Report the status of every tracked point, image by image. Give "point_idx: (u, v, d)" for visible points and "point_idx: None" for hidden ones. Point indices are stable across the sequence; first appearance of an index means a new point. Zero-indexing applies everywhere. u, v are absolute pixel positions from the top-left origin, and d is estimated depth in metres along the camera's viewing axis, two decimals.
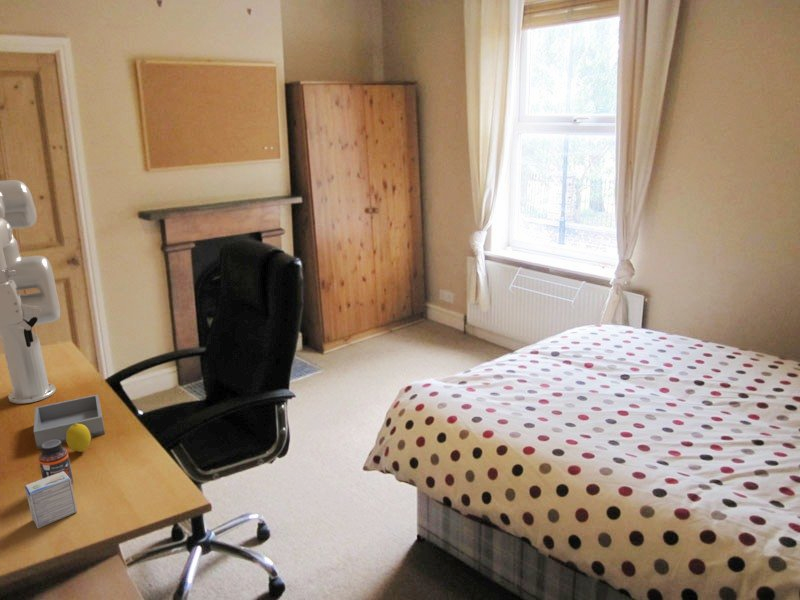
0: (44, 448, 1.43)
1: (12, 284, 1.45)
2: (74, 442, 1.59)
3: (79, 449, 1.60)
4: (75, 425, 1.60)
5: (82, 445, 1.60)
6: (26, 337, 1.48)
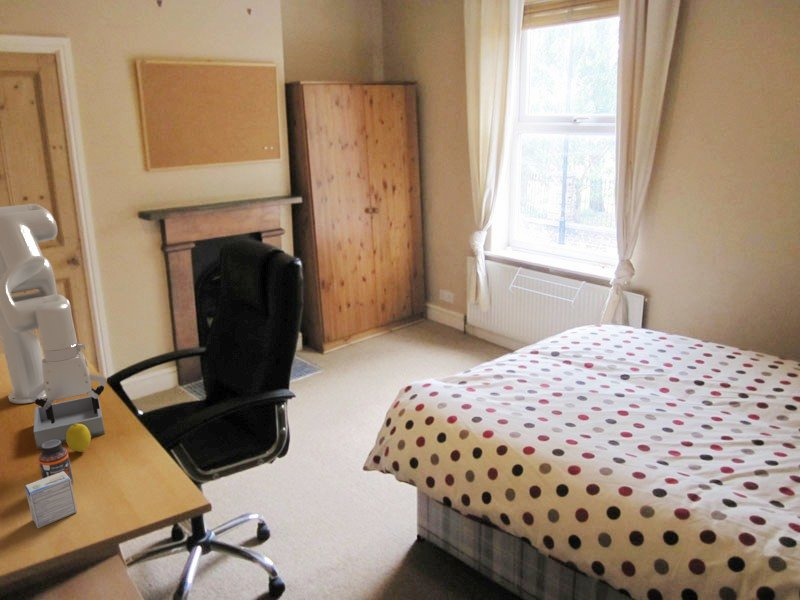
0: (44, 448, 1.43)
1: (82, 357, 1.56)
2: (74, 442, 1.59)
3: (79, 449, 1.60)
4: (75, 425, 1.60)
5: (82, 445, 1.60)
6: (94, 405, 1.59)
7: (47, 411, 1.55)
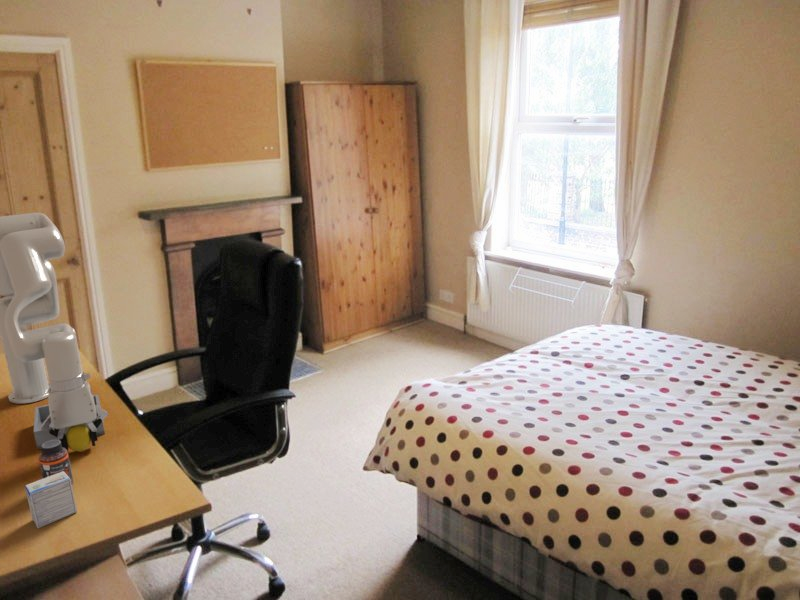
0: (44, 448, 1.43)
1: (87, 386, 1.58)
2: (74, 442, 1.59)
3: (79, 449, 1.60)
4: (75, 425, 1.60)
5: (82, 445, 1.60)
6: (92, 438, 1.61)
7: (61, 441, 1.59)
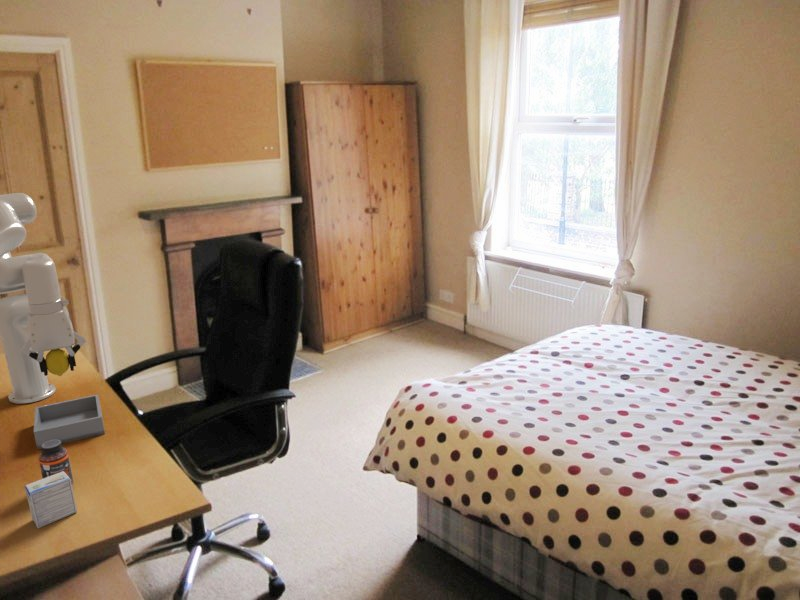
0: (44, 448, 1.43)
1: (66, 312, 1.65)
2: (53, 365, 1.66)
3: (58, 372, 1.67)
4: (54, 349, 1.67)
5: (61, 368, 1.67)
6: (70, 362, 1.69)
7: (40, 364, 1.66)
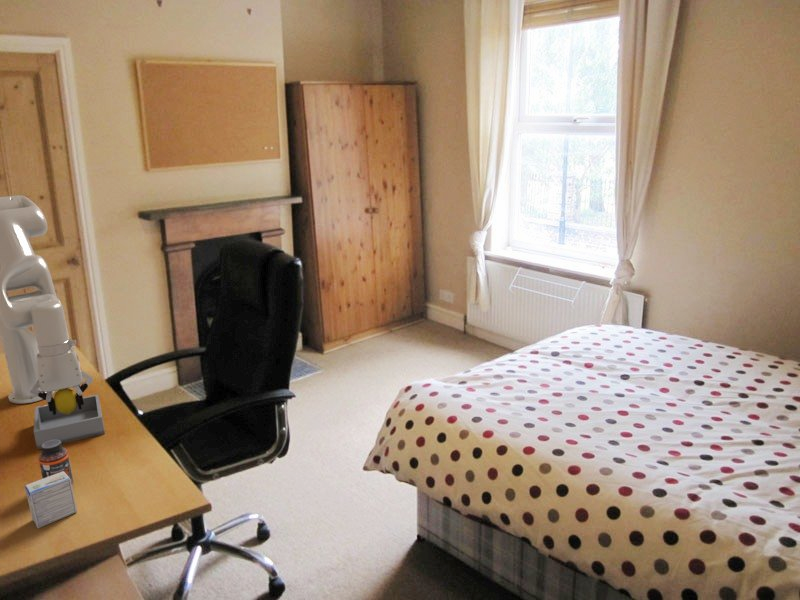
0: (44, 448, 1.43)
1: (74, 352, 1.69)
2: (61, 404, 1.69)
3: (66, 411, 1.71)
4: (62, 389, 1.70)
5: (69, 408, 1.70)
6: (78, 401, 1.72)
7: (49, 403, 1.69)
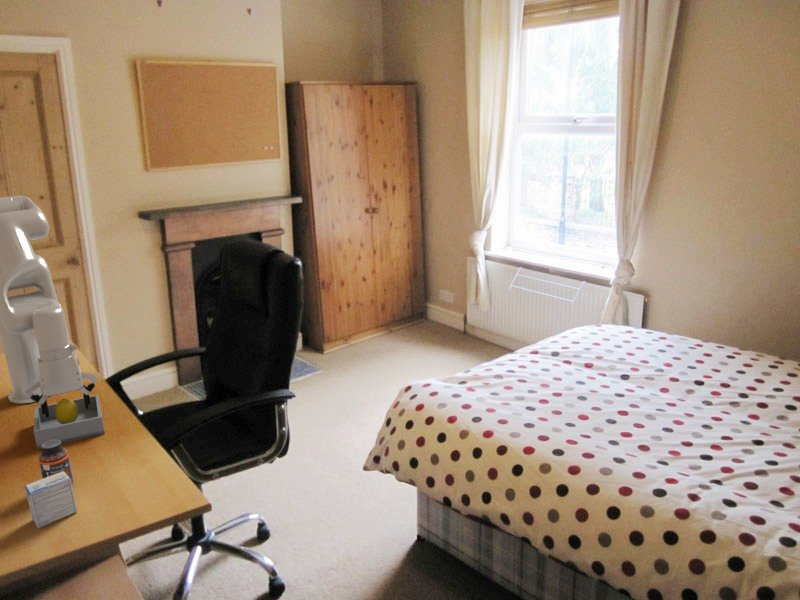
0: (44, 448, 1.43)
1: (75, 357, 1.69)
2: (62, 416, 1.70)
3: (67, 422, 1.72)
4: (63, 400, 1.71)
5: (70, 419, 1.71)
6: (85, 401, 1.73)
7: (42, 406, 1.69)
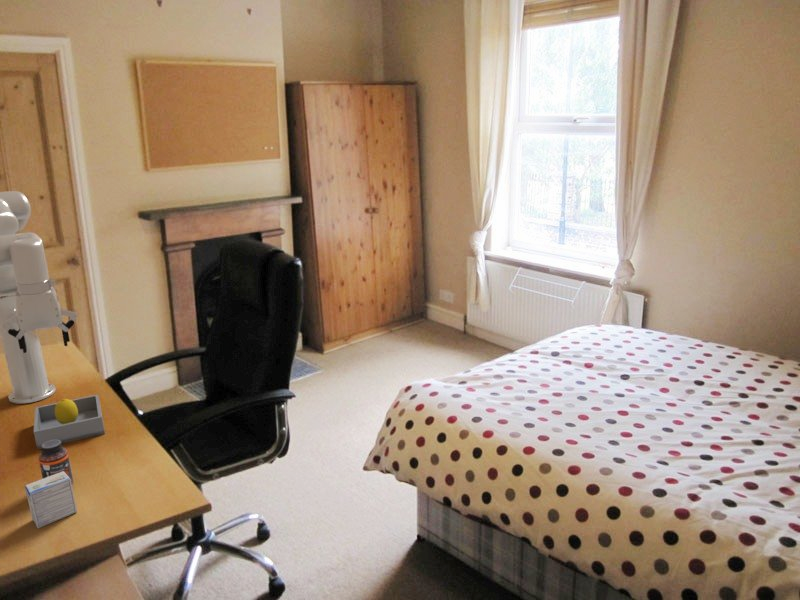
0: (44, 448, 1.43)
1: (54, 292, 1.66)
2: (62, 416, 1.70)
3: (67, 422, 1.72)
4: (63, 400, 1.71)
5: (70, 419, 1.71)
6: (64, 338, 1.70)
7: (19, 341, 1.66)
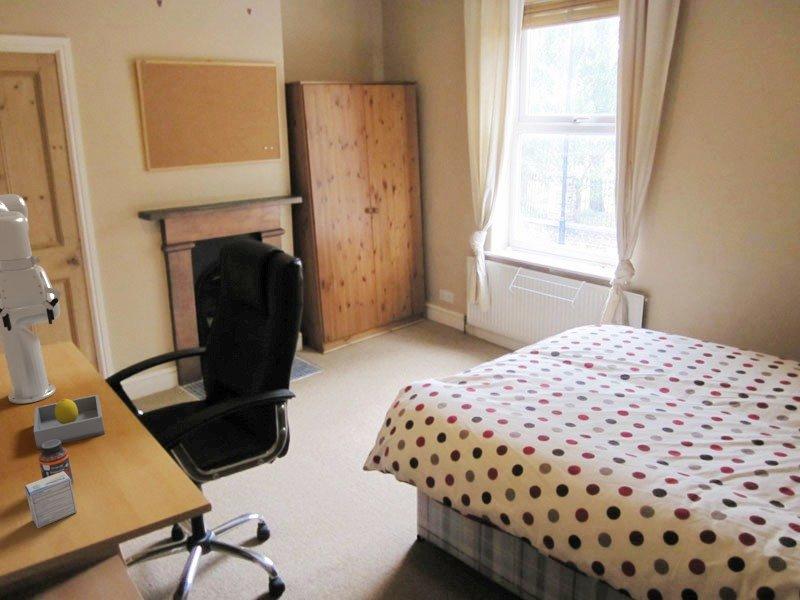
0: (44, 448, 1.43)
1: (37, 269, 1.67)
2: (62, 416, 1.70)
3: (67, 422, 1.72)
4: (63, 400, 1.71)
5: (70, 419, 1.71)
6: (48, 315, 1.71)
7: (4, 319, 1.67)
